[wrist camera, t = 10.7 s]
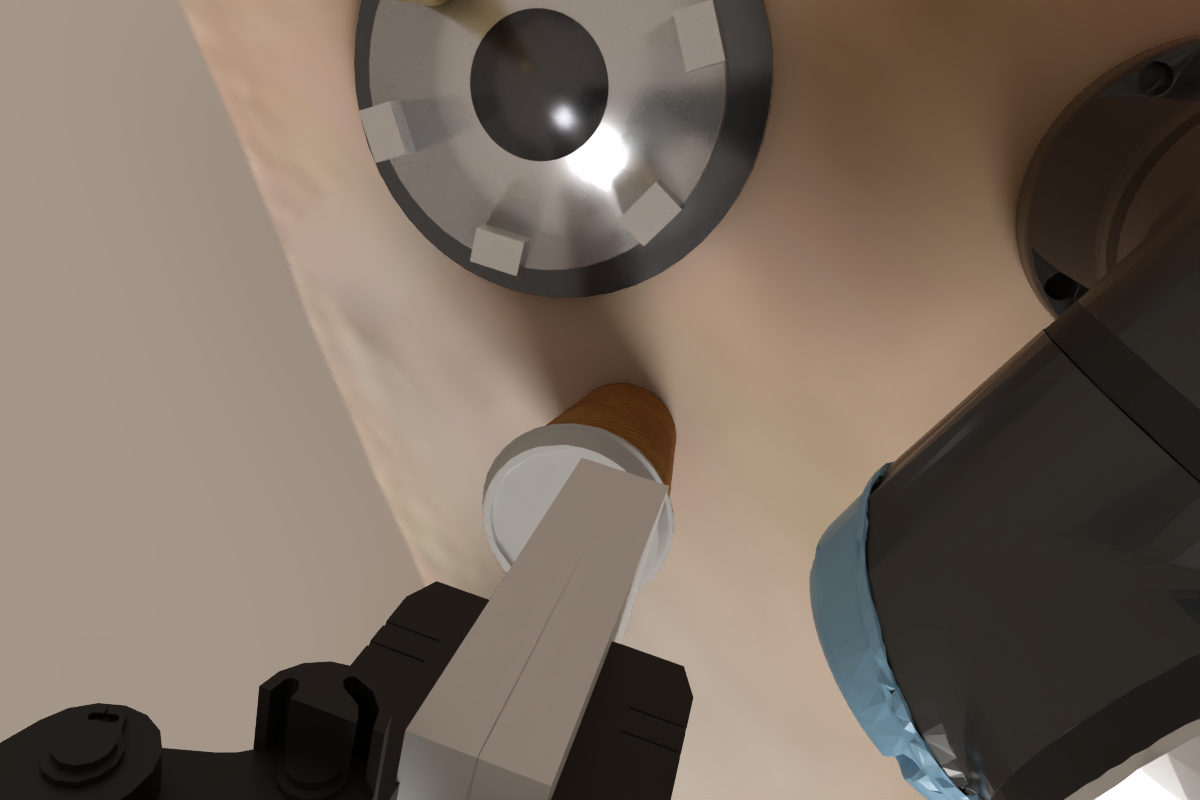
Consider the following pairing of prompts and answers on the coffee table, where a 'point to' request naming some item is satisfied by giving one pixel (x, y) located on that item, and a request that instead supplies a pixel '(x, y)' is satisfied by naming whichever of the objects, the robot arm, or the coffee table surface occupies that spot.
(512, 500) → the disposable coffee cup
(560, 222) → the lugged metal disc
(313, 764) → the robot arm
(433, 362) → the coffee table surface
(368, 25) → the base plate
